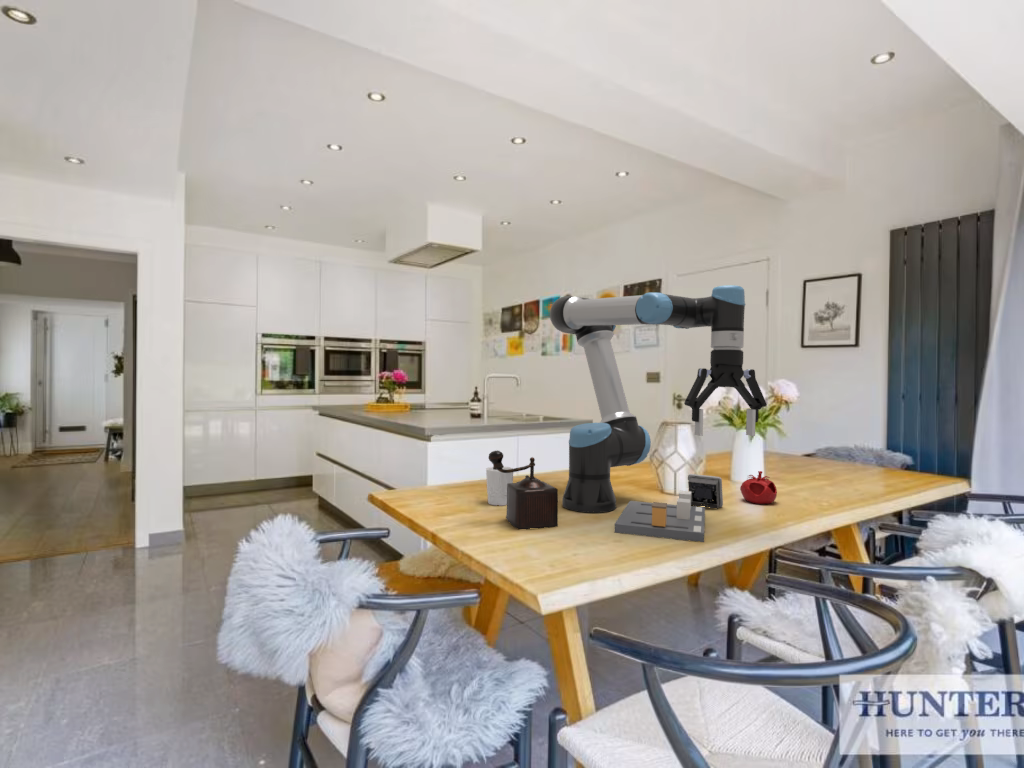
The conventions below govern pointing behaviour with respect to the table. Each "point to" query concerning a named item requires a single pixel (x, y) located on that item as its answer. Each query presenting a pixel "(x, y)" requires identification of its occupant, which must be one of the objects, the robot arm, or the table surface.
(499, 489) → the white cup
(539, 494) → the manual coffee grinder
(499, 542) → the table surface
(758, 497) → the pomegranate
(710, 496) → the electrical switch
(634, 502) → the grey slider board
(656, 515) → the brown rectangular block
